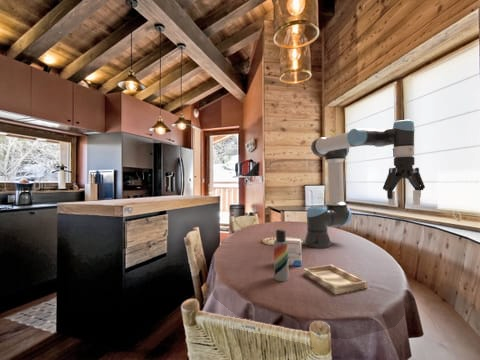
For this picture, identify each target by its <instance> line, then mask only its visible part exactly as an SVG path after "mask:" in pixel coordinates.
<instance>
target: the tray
mask: <svg viewBox="0 0 480 360" xmlns="http://www.w3.org/2000/svg"><path fill="white" fill-rule="evenodd" d="M303 275H304V276H306V277H308V278H309V279H311V280H312V281H313V282H315V283H317V284H318V285H320V286H321V287H322V288H325V289H326V290H327V291H329V292H331V293H333V294H334V295H340V294H344V293H345V292H346V293H350V291H351V292H355V290H356V291H360V290H359V289H361V290H365V289H364V288H366V289H368V281H367V280H364V279H363V278H360V277H358V276H355V275H354V274H352V273H350V272H348V271H346V270H344V269H341V268H339V267H337V266H336V265H333V264H325V265H319V266H312V267H304V268H303Z"/></svg>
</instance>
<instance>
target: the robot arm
mask: <svg viewBox="0 0 480 360" xmlns="http://www.w3.org/2000/svg"><path fill="white" fill-rule="evenodd" d="M391 145H392V146H393V157H394V158H393V166H395V167H390V168H388V174H387V177H386V179H385V182H384V185H383V186H382V190H384V191H385V192H386V194H387V195H386V196H387V197H386V198H387V200H388V201H387V202H388V203H387V204H388V207H393V208H395V207H396V191H394V189H395V188H396V187H397V186H398V183H399V182H400V181H401V180H402V179H407V181H408V182H409V183H410V185H411V186H412V187H413V190H412V205H413V206H420V205H421V195H422V193H421V192H422V191H423V190H424V189H425V188H426V185H425V183H424V181H423V179H422V175H421V173H420V169H419V167H413V166H414V165H415V157H414V155H415V123H414V121H413V120H411V119H402V120H396V121H394V122H393V126H392V127H391V128H385V129H382V128H381V129H380V128H379V129H378V128H377V129H376V128H360V127H357V128H352V129H350V131H348V132H344V133H340V134H337V135H332V136H329V137H318V138H315V139H314V140H313V141H312V142H311V145H310V149H311V151H312V154H313V155H315V156H316V157H320V158H324V161H325V162H326V163H327V175H328V176H327V177H328V202H327V203H326V205H324V204H320V205H313V206H308V208H307V209H306V224H307V225H306V226H307V228H306V229H307V231H306V236H305V238H304V245H305V246H306V247H309V248H313V249H325V248H327V249H328V248H330V247H332V241H331V240H330V237H329V233H328V232H329V231H328V228H330V227H331V228H332V227H342V226H343V227H344V226H346V225H349V223H350V222H351V220H352V217H353V216H352V211H351V208H349V207H348V206H347V203H346V202H345V196H344V195H345V194H344V190H345V189H344V166H343V162H344V161H345V160H346V157H348V155H349V153H350V148H354V147H355V148H356V147H361V146H371V147H376V148H377V147H378V148H379V147H383V148H384V147H386V146H391Z"/></svg>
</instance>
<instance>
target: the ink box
mask: <svg viewBox="0 0 480 360" xmlns="http://www.w3.org/2000/svg"><path fill="white" fill-rule="evenodd" d="M286 241H287V242H288V266H295V267H296V266H297V267H302V263H303V261H302V255H303V254H302V240H301V238H288V237H287V238H286Z"/></svg>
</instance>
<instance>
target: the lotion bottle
mask: <svg viewBox="0 0 480 360" xmlns="http://www.w3.org/2000/svg"><path fill="white" fill-rule="evenodd" d="M273 261H274V262H273V268H274V269H273V271H274V280H275V281H277V282H287V281H288V280H289V276H290V275H289V273H290V272H289V265H288V242H287V241H286V230H284V229H278V228H277V229H276V231H275V240H274V241H273Z"/></svg>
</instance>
